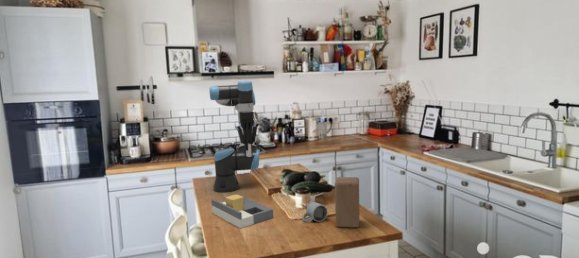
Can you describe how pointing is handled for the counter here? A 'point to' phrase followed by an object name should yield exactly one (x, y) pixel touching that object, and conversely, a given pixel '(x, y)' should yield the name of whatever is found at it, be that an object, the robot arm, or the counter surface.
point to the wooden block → (347, 202)
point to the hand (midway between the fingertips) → (248, 156)
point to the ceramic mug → (315, 212)
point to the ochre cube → (235, 202)
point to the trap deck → (242, 213)
